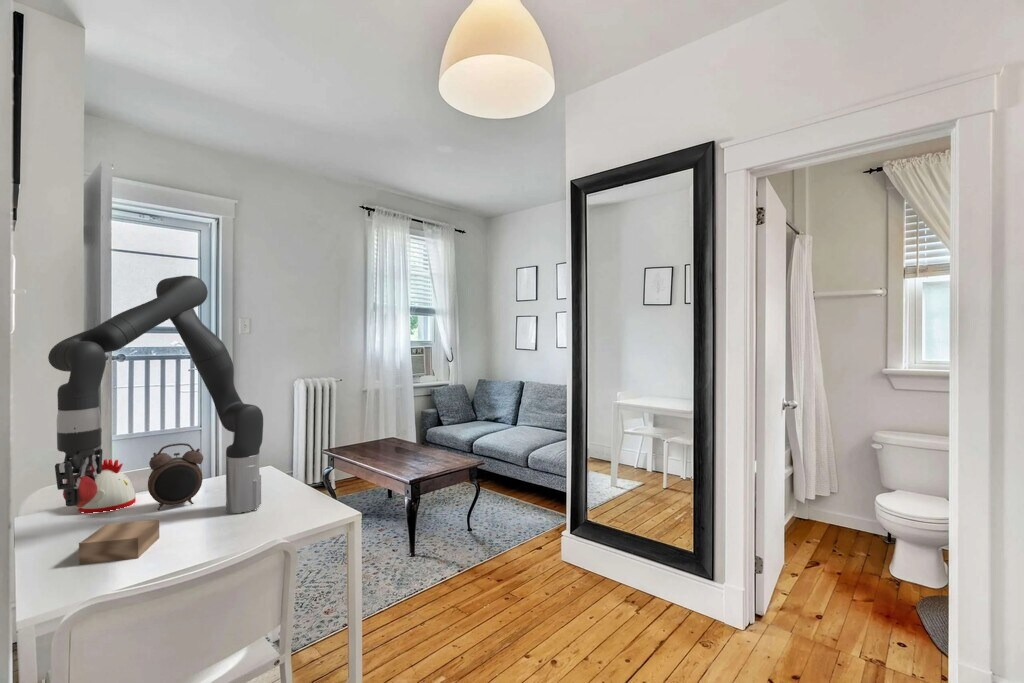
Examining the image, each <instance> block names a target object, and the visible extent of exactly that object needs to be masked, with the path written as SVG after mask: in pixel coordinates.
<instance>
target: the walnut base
mask: <svg viewBox="0 0 1024 683" xmlns="http://www.w3.org/2000/svg"><path fill="white" fill-rule="evenodd" d="M159 539H160V519H153V520H152V519H150V520H140V521H139V520H138V521H128V522H116V523H106V524H104V525H103V526H101V527H100V528H99V529H98V530H97V529H96V531H94V532H93V533H92V534H91V535H89V536H88V537H86V538H85V539H84V540H82V541H81V542H79V543H78V564H79V565H85V564H93V563H95V564H96V563H103V562H106V563H107V562H111V561H112V562H113V561H122V560H132V559H139V558H140V557H141V556H142V555H143V554H144V553H146V552H147V551H148V550H149V549H150V548H151V547H152V545H154V544H155V543H156V542H157V541H158V540H159Z"/></svg>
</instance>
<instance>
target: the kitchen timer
mask: <svg viewBox="0 0 1024 683" xmlns="http://www.w3.org/2000/svg"><path fill="white" fill-rule="evenodd" d="M123 464H124V463H123V462H122V463H120V464H119V459H115V460H114V462H113V459H112V458H111V459H107V458H106V459H103V461H102V470H101V474H97V478H96V479H95V483H96V485H97V494H96V495H95V497H94V498H93V499H92V500H91V501H90V502H89V503H87V504H86V505H85V506H83V507H78V512H79V511H80V512H84V513H93V512H103V511H110V510H116V509H119V510H121V509H120V508H123V509H125V508H124V507H126V508H128V507H127V506H129V507H131V506H132V504H133V503H134V504H135V503H136V500H137V498H136V491H135V489H134V486H133V484H132V480H131V479H130V478H129V477H128V476H127V475H126V474H125V473H123V472H122V471H121V470H122V467H123ZM134 504H133V505H134ZM130 505H131V506H130ZM116 511H117V510H116ZM80 512H79V513H80Z"/></svg>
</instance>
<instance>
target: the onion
mask: <svg viewBox="0 0 1024 683" xmlns="http://www.w3.org/2000/svg"><path fill="white" fill-rule="evenodd" d="M74 482H75V479H74ZM96 494H97V485H96V483H95V481H94V480H93V479H91V478H90V477H87V476H85V475H84V477H83V478H82V479H81V480H80V484H79V504H78V505H76V506H75V507H76V508H79V507H83V506H85V505H86V504H87V503H89V502H90V501H91V500H92V499H93V498H94V497H95V495H96ZM62 497H63V499H64V500H65V490H62Z"/></svg>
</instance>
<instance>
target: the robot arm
mask: <svg viewBox="0 0 1024 683" xmlns="http://www.w3.org/2000/svg"><path fill="white" fill-rule="evenodd" d="M155 292H156V297H155V298H153V299H150V300H149V301H147V302H145V303H141V304H139V305H136V306H133V307H131V308H129V309H126V310H124V311H122V312H119V313H117V314H116V315H114V316H112V317H111V318H109V319H107V320H105V321H103V322H101V323H100V324H99V325H97V326H95V327H93V328H90V329H88V330H85V331H82V332H79V333H77V334H74V335H72V336H70V337H68V338H65V339H63V340H61V341H59V342H58V343H56V344H55V345H54V346H53V347H52V348H51V349H50V351H49V353H48V357H47V358H48V362H49V364H50V365H51V367H53V368H54V369H56V370H59V371H61V372H70V374H69V378H68V382H66V383H63V384H60V386H59V387H58V389H57V415H56V447H57V448H56V449H57V451H58V452H61V453H62V452H63V453H65V455H64V460H63V462H60V463H55V465H54V471H55V479H56V486H57V490H58V491H60V490H62V491H63V490H65V499H64V500H65V506H66V507H76V505H78V504H79V484H80V480H81V479H82V478H83V477H84V475H85V476H87V477H90V478H91V479H93V480H94V481H95V479H96V478H97V474H101V470H102V464H103V448H99V447H100V446H102V415H101V412H100V391H99V388H100V386H101V383H102V380H103V376H104V373H105V368H106V363H107V357H106V353H110V352H115V351H118V350H120V349H122V348H125V347H126V346H128V345H129V344H130V343H132V342H134V341H135V340H137V339H139V337H141V336H143V335H144V334H145V333H147V332H149V331H150V330H152V329H154V328H156V327H158V326H159V325H161V324H162V323H164V322H166V321H167V320H170V322H172V323H171V324H172V325H173V326H174V328H175V329H176V330H177V333H178V334H179V336H180V338H181V340H182V342H183V344H184V346H185V348H186V349H187V351H188V353H189V355H190V357H191V360H192V362H193V365H194V366H195V368H196V370H197V372H198V374H199V375H200V378H201V379H202V381H203V383H204V385H205V387H206V389H207V391H208V393H209V394H210V398H212V401H213V403H214V407H215V409H216V412H217V415H218V418H219V421H220V424H221V425H222V426H223V428H224V429H225V430H226V431H229V432H231V433H233V442H232V444H230V445H228V446H227V447H226V449H225V511H227V512H226V513H228V512H229V513H228V514H232V513H238V514H242V513H241V512H245V513H247V512H246V511H250V512H252V511H251V510H254V511H256V510H255V509H257V508H258V507H260V506H261V505H262V475H261V474H260V448H261V447H262V444H263V434H264V433H263V432H264V414H263V411H262V410H261V408H260V407H259V406H257V405H255V404H250V403H249V404H248V403H244V402H243V401H242V399H241V398H240V396H239V394H238V392H237V390H236V387H235V383H234V381H235V380H234V379H235V378H234V374H235V370H234V363H233V360H232V358H231V356H230V353H229V351H228V349H227V347H226V345H225V343H224V342H223V341H222V340H221V339H220V337H218V335H216V334H215V333H214V332H212V331H211V330H210V329H209V328H208V327H207V326H206V325H205V324H204V323H203V322H202V321H201V319H200V318H199V317H198V315H197V313H196V311H195V309H194V308H196V307H200V306H201V305H203V304H204V302H206V300H207V297H208V287H207V284H206V283H205V282H204V281H203V280H202V279H201V278H200V277H197V276H194V275H180V276H179V275H178V276H173V277H167V278H163V279H161V280H160V281H159V282H158V283H157V285H156V288H155ZM74 479H75V482H74ZM260 504H261V505H260ZM259 505H260V506H259ZM258 509H259V508H258ZM258 509H257V510H258Z"/></svg>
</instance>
